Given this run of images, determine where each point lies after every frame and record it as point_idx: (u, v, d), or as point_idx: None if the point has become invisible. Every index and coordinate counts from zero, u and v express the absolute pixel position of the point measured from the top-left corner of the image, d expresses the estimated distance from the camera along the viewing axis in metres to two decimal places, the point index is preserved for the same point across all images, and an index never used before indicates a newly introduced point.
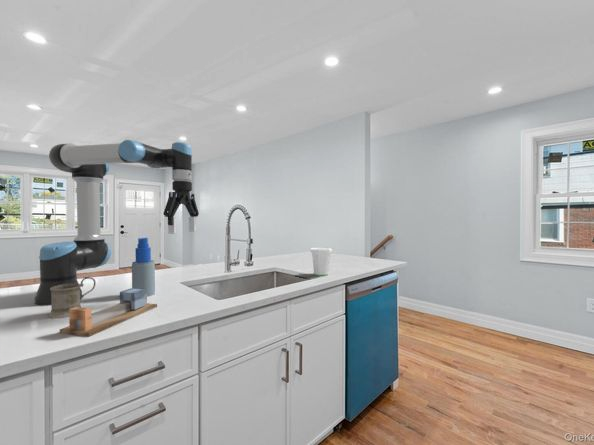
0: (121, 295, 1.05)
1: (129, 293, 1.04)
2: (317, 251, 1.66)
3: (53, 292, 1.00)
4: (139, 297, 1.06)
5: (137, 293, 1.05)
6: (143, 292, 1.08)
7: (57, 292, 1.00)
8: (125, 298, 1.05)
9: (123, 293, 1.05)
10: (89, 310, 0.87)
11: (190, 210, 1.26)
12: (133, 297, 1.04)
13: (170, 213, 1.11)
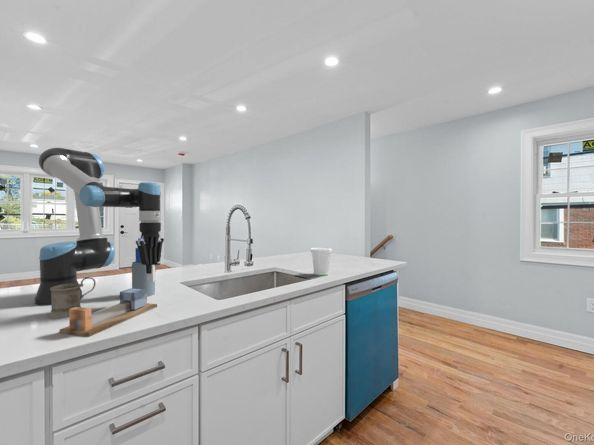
0: (121, 295, 1.05)
1: (129, 293, 1.04)
2: (317, 251, 1.66)
3: (53, 292, 1.00)
4: (139, 297, 1.06)
5: (137, 293, 1.05)
6: (143, 292, 1.08)
7: (57, 292, 1.00)
8: (125, 298, 1.05)
9: (123, 293, 1.05)
10: (89, 310, 0.87)
11: (152, 255, 1.16)
12: (133, 297, 1.04)
13: (148, 262, 1.12)
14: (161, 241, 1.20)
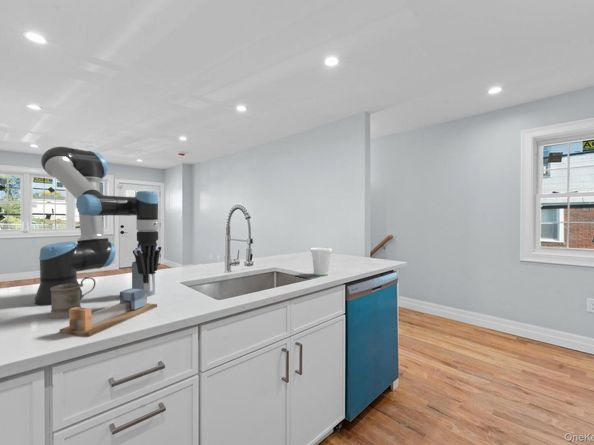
0: (121, 295, 1.05)
1: (129, 293, 1.04)
2: (317, 251, 1.66)
3: (53, 292, 1.00)
4: (139, 297, 1.06)
5: (137, 293, 1.05)
6: (143, 292, 1.08)
7: (57, 292, 1.00)
8: (125, 298, 1.05)
9: (123, 293, 1.05)
10: (89, 310, 0.87)
11: (149, 264, 1.15)
12: (133, 297, 1.04)
13: (145, 272, 1.11)
14: (158, 250, 1.19)
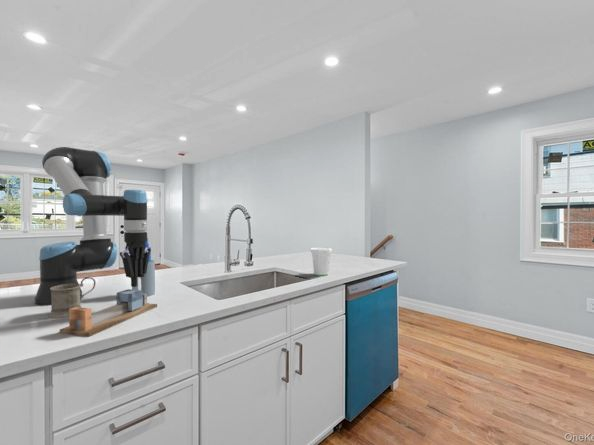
0: (118, 296, 1.04)
1: (126, 294, 1.03)
2: (317, 251, 1.66)
3: (53, 292, 1.00)
4: (136, 298, 1.05)
5: (134, 294, 1.04)
6: (140, 293, 1.07)
7: (57, 292, 1.00)
8: (122, 299, 1.04)
9: (120, 294, 1.04)
10: (89, 310, 0.87)
11: (138, 266, 1.09)
12: (130, 298, 1.03)
13: (133, 275, 1.06)
14: (148, 252, 1.13)
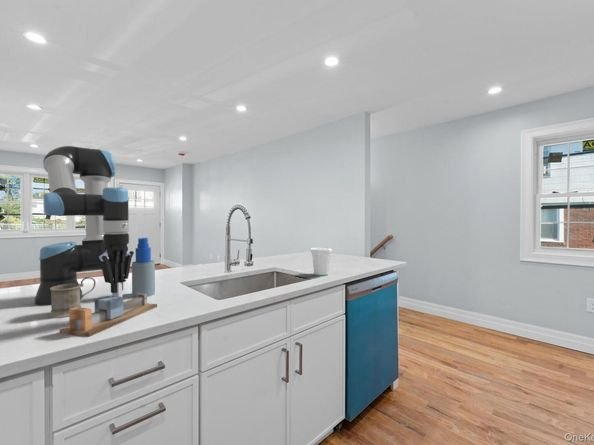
0: (96, 303, 0.96)
1: (105, 301, 0.95)
2: (317, 251, 1.66)
3: (53, 292, 1.00)
4: (116, 306, 0.96)
5: (114, 301, 0.96)
6: (121, 300, 0.98)
7: (57, 292, 1.00)
8: (100, 307, 0.95)
9: (98, 301, 0.95)
10: (89, 310, 0.87)
11: (119, 271, 1.01)
12: (109, 306, 0.94)
13: (112, 280, 0.97)
14: (130, 255, 1.05)
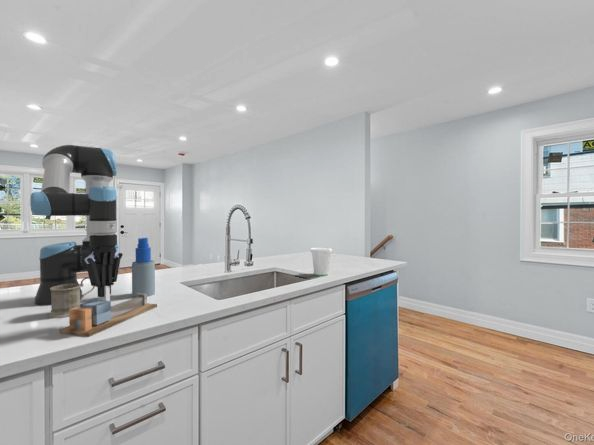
0: None
1: (90, 306, 0.90)
2: (317, 251, 1.66)
3: (53, 292, 1.00)
4: (103, 311, 0.92)
5: (100, 306, 0.91)
6: (108, 304, 0.94)
7: (57, 292, 1.00)
8: None
9: (84, 306, 0.91)
10: (89, 310, 0.87)
11: (106, 274, 0.96)
12: (95, 311, 0.90)
13: (99, 284, 0.92)
14: (119, 257, 1.00)
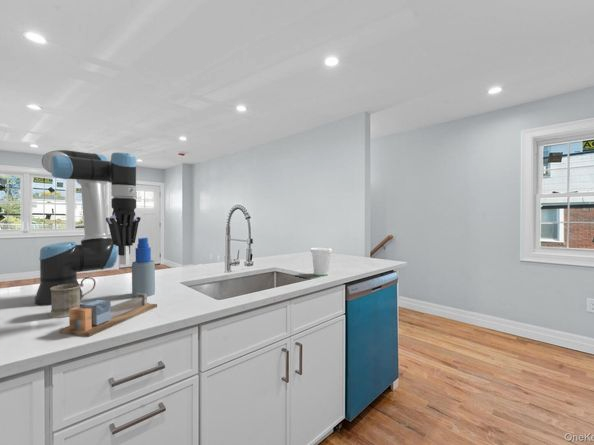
0: None
1: (90, 306, 0.90)
2: (317, 251, 1.66)
3: (53, 292, 1.00)
4: (102, 311, 0.92)
5: (100, 306, 0.91)
6: (108, 304, 0.93)
7: (57, 292, 1.00)
8: None
9: (84, 306, 0.90)
10: (89, 310, 0.87)
11: (126, 235, 1.04)
12: (95, 311, 0.89)
13: (120, 243, 1.00)
14: (137, 220, 1.08)
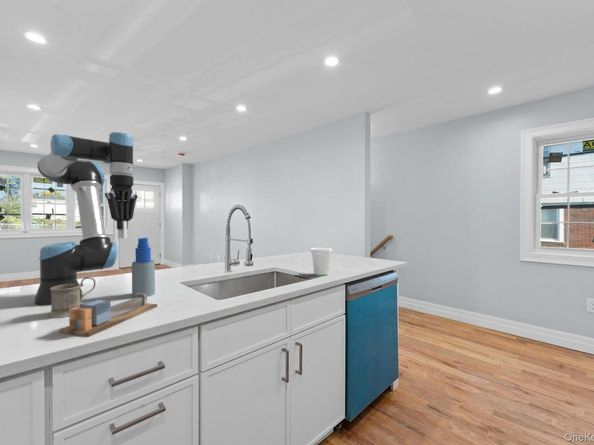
0: None
1: (90, 306, 0.90)
2: (317, 251, 1.66)
3: (53, 292, 1.00)
4: (102, 311, 0.92)
5: (100, 306, 0.91)
6: (108, 304, 0.93)
7: (57, 292, 1.00)
8: None
9: (84, 306, 0.90)
10: (89, 310, 0.87)
11: (124, 210, 1.10)
12: (95, 311, 0.89)
13: (118, 217, 1.06)
14: (134, 197, 1.14)
